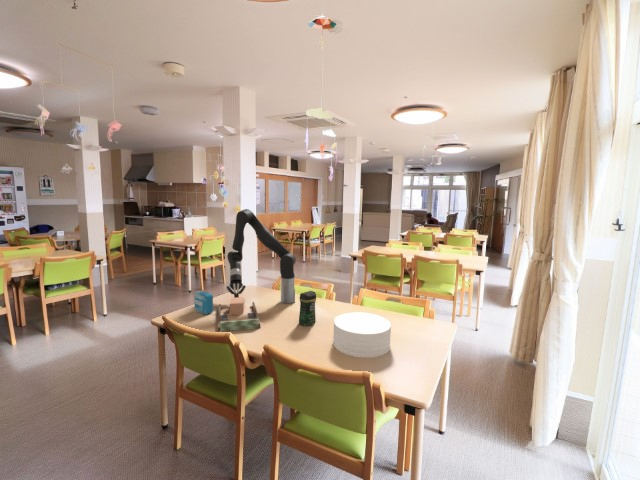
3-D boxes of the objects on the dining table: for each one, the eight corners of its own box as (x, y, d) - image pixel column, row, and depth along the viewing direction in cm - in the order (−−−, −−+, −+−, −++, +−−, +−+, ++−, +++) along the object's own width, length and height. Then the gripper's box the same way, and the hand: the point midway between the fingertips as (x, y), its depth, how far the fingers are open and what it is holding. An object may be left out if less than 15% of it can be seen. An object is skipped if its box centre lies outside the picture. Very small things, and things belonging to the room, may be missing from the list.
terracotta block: (244, 307, 211) (244, 297, 210) (243, 314, 199) (243, 303, 198) (231, 308, 210) (231, 297, 209) (229, 314, 198) (229, 303, 197)
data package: (194, 310, 203) (194, 292, 201) (200, 308, 207) (200, 290, 205) (207, 314, 196) (206, 295, 195) (213, 312, 200) (212, 293, 199)
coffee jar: (306, 327, 181) (307, 295, 179) (296, 323, 186) (297, 292, 184) (318, 322, 189) (318, 291, 186) (307, 319, 194) (308, 288, 191)
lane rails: (254, 305, 215) (253, 298, 214) (260, 328, 179) (260, 319, 178) (219, 307, 209) (219, 300, 208) (218, 331, 173) (218, 322, 172)
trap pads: (254, 312, 201) (254, 312, 201) (255, 317, 194) (255, 317, 194) (220, 315, 196) (220, 315, 196) (220, 320, 188) (220, 319, 188)
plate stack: (353, 328, 182) (354, 308, 181) (399, 343, 165) (401, 321, 163) (321, 345, 161) (322, 322, 159) (371, 364, 143) (372, 339, 142)
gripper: (225, 274, 218) (226, 297, 208) (245, 273, 222) (247, 295, 212) (225, 279, 224) (226, 302, 214) (245, 278, 228) (246, 301, 218)
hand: (236, 299), depth 213 cm, fingers closed
